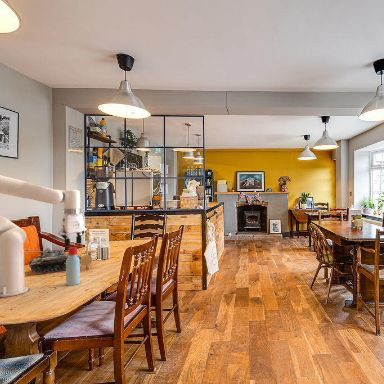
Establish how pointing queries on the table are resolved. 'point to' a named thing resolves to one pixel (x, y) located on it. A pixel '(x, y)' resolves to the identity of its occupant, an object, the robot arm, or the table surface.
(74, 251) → the cap
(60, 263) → the tank
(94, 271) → the table surface
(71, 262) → the bottle
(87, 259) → the wall sconce
